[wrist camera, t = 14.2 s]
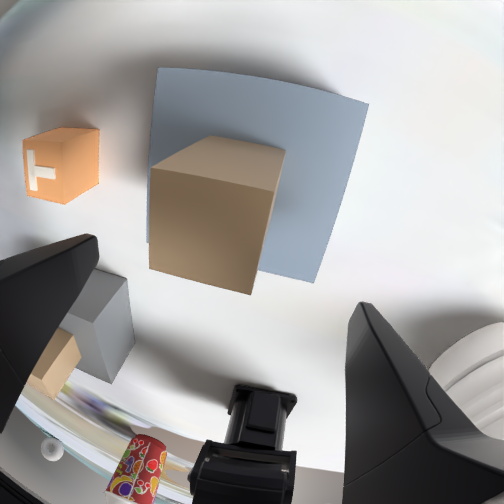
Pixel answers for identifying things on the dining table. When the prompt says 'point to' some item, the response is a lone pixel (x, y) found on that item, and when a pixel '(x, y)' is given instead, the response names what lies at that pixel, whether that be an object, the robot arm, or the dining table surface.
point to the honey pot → (476, 377)
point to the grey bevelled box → (88, 336)
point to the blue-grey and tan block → (245, 175)
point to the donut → (57, 452)
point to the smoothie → (138, 472)
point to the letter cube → (61, 163)
